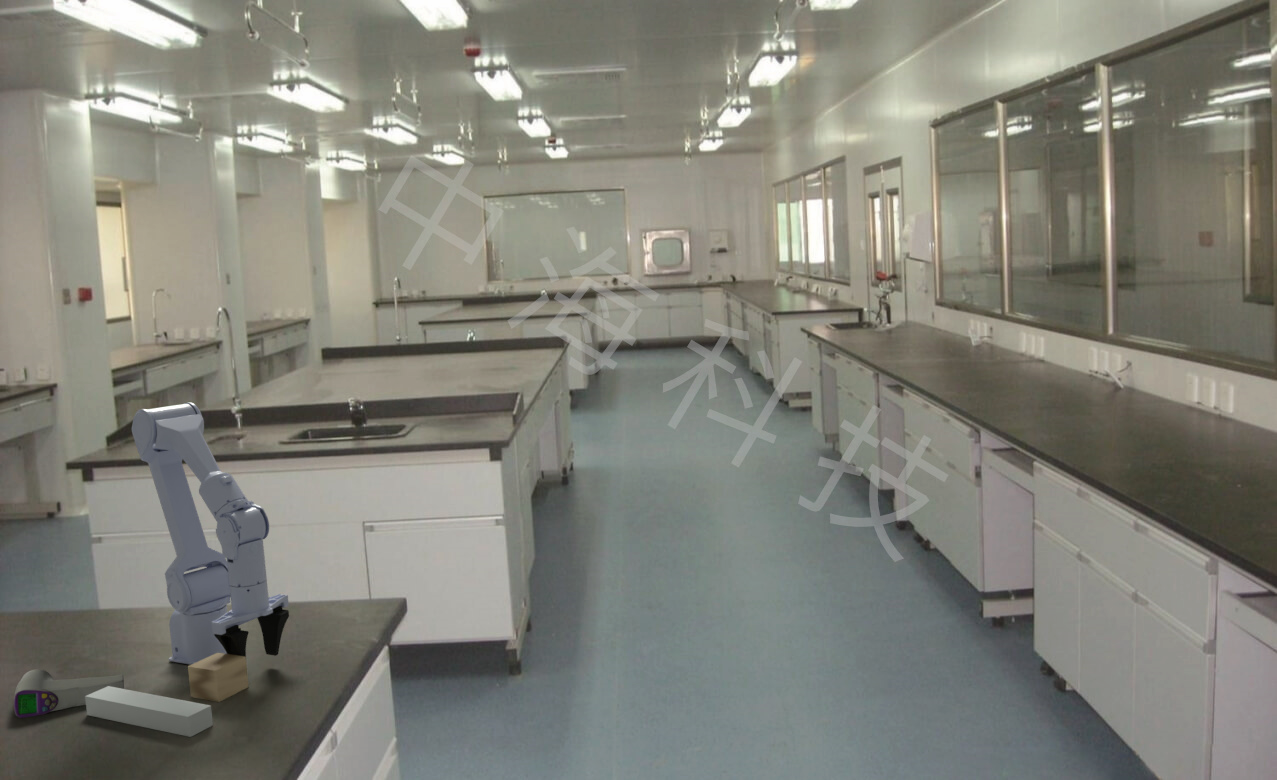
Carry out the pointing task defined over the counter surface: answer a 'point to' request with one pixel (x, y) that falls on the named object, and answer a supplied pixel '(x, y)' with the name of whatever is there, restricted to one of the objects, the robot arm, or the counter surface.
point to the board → (149, 711)
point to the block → (218, 677)
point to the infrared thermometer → (56, 692)
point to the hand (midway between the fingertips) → (256, 662)
